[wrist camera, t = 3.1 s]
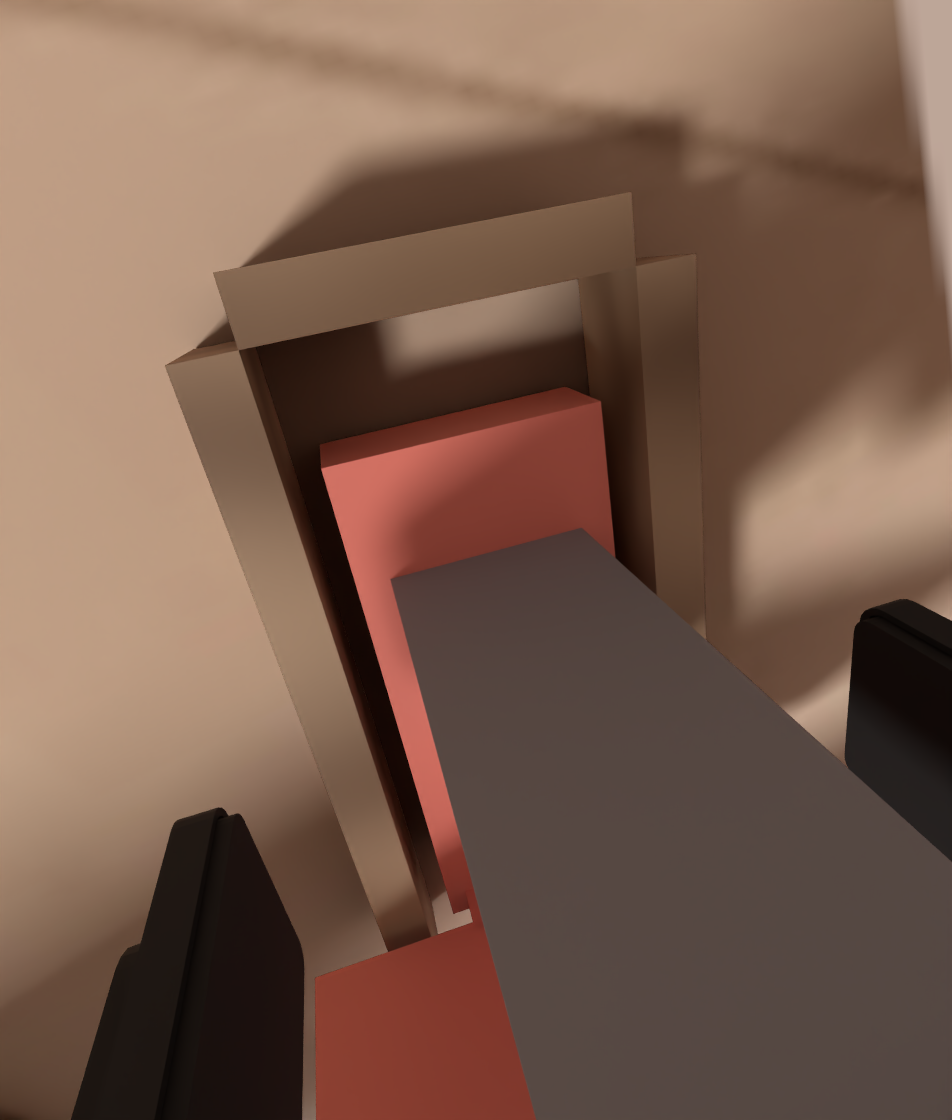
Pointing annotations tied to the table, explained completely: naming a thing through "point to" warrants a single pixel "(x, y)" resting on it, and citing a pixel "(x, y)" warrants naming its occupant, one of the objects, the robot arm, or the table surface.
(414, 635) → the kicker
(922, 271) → the table surface
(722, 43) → the table surface
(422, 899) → the brown wooden rectangular frame
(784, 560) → the table surface
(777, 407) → the table surface
